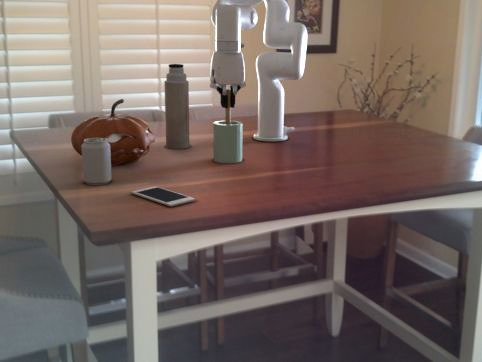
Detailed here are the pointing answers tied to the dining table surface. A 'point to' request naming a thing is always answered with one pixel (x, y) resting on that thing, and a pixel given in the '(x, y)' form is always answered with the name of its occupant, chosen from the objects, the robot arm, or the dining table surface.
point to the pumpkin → (116, 135)
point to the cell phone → (163, 196)
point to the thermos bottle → (177, 108)
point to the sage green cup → (227, 141)
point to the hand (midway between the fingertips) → (227, 107)
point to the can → (96, 161)
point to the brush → (228, 110)
